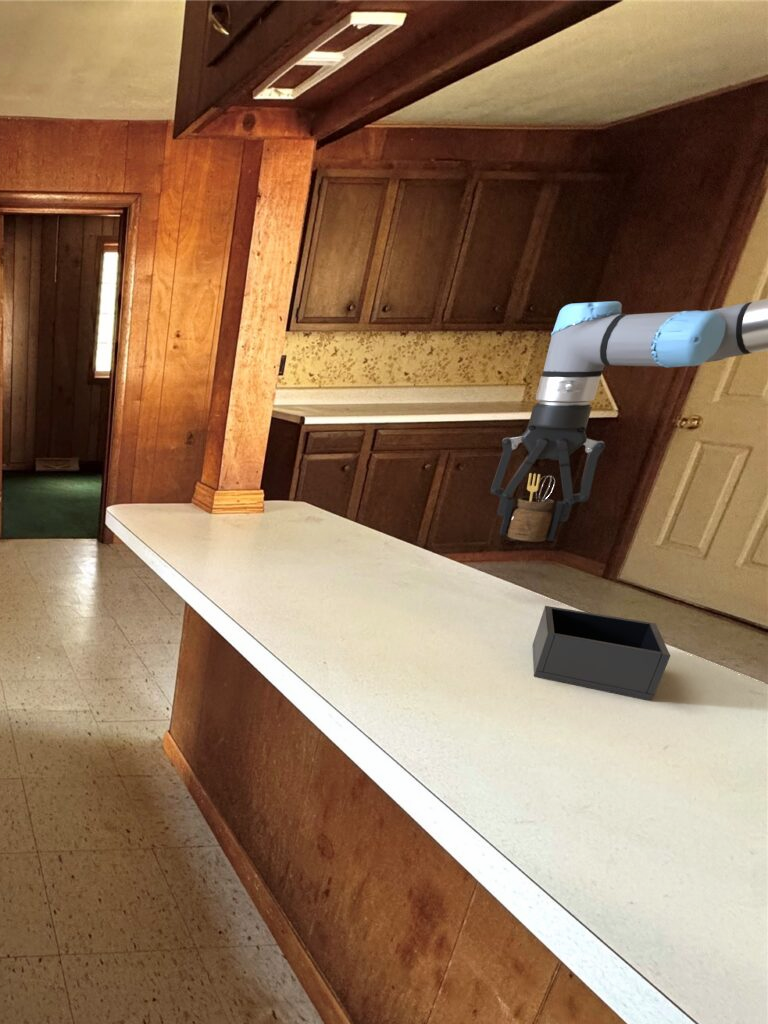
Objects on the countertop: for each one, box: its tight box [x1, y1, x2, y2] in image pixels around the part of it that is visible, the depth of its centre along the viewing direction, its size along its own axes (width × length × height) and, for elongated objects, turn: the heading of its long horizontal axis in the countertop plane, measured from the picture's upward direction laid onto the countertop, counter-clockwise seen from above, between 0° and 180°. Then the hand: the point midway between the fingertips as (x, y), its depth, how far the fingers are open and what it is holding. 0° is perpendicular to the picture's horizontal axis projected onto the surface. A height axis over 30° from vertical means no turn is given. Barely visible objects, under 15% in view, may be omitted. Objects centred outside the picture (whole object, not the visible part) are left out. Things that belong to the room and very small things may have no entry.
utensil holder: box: [505, 472, 556, 543], centre depth 117 cm, size 6×6×12 cm
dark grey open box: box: [532, 605, 671, 702], centre depth 97 cm, size 13×13×7 cm
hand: (525, 535), depth 119 cm, fingers closed on utensil holder, 6 cm apart
